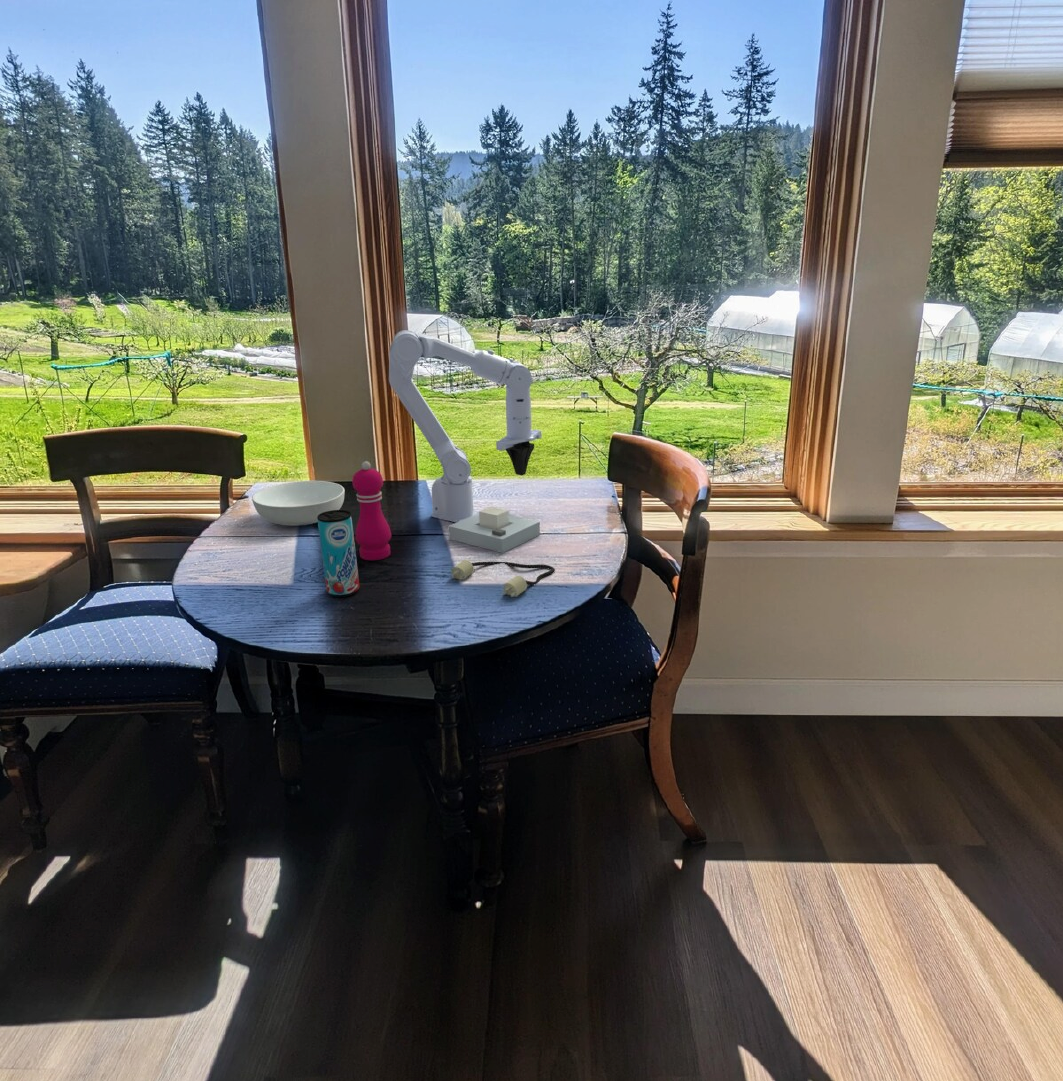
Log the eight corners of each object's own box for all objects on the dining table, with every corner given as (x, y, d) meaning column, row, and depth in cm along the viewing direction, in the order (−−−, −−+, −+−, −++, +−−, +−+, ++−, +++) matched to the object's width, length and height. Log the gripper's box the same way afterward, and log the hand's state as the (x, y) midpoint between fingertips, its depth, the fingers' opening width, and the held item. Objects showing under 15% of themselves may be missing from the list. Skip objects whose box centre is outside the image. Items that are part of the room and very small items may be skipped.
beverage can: (330, 601, 136) (319, 522, 130) (324, 588, 141) (314, 512, 135) (362, 594, 138) (354, 517, 133) (356, 583, 143) (347, 508, 138)
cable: (498, 556, 155) (497, 540, 154) (563, 574, 146) (563, 557, 145) (446, 581, 144) (445, 564, 143) (513, 602, 135) (513, 584, 133)
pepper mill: (399, 550, 158) (390, 458, 151) (382, 563, 152) (372, 467, 145) (369, 547, 161) (359, 456, 154) (351, 559, 154) (339, 464, 147)
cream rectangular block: (480, 537, 165) (479, 511, 162) (491, 532, 168) (490, 506, 165) (498, 541, 162) (496, 515, 160) (509, 536, 165) (508, 510, 163)
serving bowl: (279, 542, 165) (274, 512, 163) (242, 520, 180) (237, 492, 178) (363, 520, 178) (360, 492, 175) (322, 501, 193) (319, 475, 190)
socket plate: (449, 538, 164) (448, 522, 163) (487, 522, 174) (486, 506, 173) (502, 552, 156) (502, 535, 154) (539, 534, 165) (539, 518, 164)
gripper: (512, 424, 165) (514, 484, 170) (551, 413, 176) (552, 469, 180) (488, 421, 169) (490, 479, 174) (527, 410, 180) (529, 465, 184)
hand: (520, 474), depth 177 cm, fingers closed
